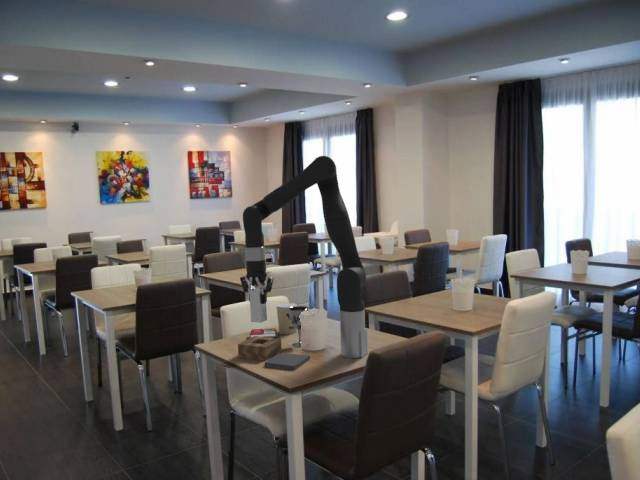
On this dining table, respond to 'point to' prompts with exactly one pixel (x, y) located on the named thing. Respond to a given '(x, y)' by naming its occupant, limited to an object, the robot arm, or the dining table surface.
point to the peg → (257, 307)
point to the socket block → (259, 348)
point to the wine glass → (297, 320)
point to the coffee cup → (285, 318)
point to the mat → (287, 361)
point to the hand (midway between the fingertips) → (258, 303)
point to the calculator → (263, 333)
